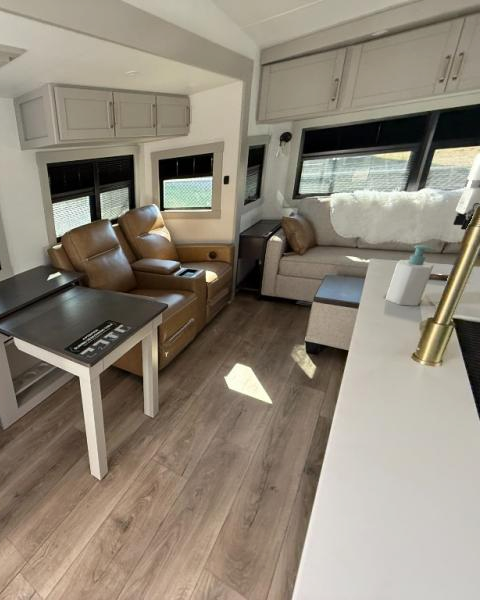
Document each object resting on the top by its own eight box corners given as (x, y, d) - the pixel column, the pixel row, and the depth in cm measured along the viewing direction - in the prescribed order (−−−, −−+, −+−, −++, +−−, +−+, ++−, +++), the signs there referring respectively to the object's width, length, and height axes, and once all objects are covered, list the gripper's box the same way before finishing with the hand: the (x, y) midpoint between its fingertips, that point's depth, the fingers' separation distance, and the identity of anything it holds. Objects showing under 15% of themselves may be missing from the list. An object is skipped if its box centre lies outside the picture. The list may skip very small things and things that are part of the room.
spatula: (401, 279, 143) (404, 273, 141) (399, 275, 147) (401, 269, 146) (458, 284, 133) (461, 278, 132) (454, 280, 138) (456, 273, 136)
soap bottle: (415, 308, 118) (437, 251, 109) (383, 301, 125) (401, 247, 116) (421, 300, 123) (442, 245, 115) (389, 294, 130) (407, 241, 122)
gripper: (458, 182, 135) (443, 223, 142) (473, 186, 122) (456, 231, 129) (484, 182, 131) (468, 223, 138) (503, 186, 118) (483, 231, 125)
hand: (462, 227), depth 133 cm, fingers open, 9 cm apart
